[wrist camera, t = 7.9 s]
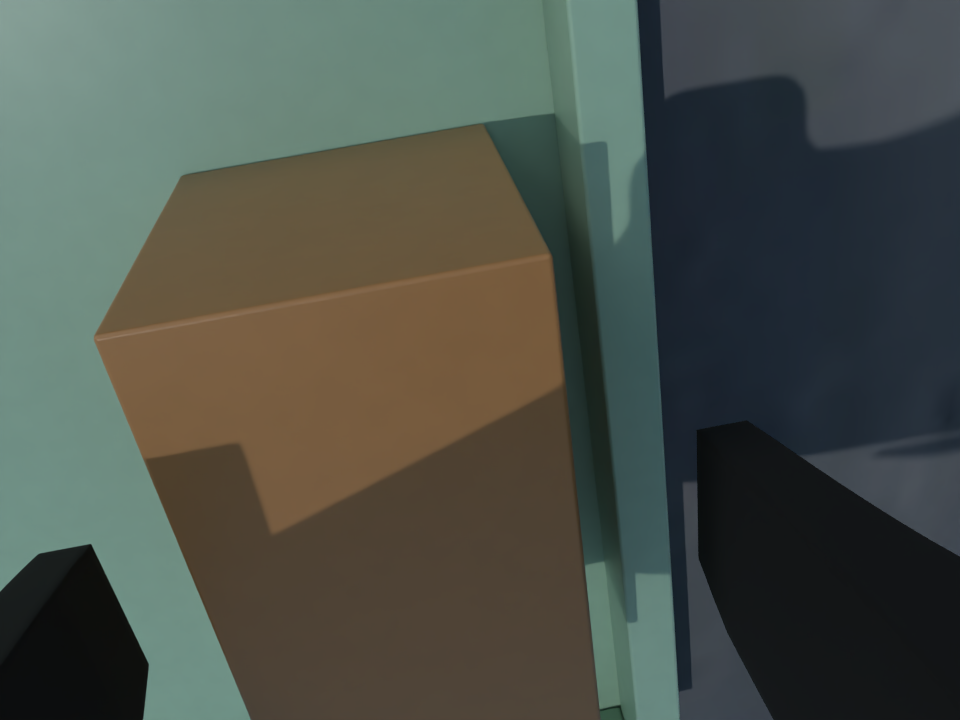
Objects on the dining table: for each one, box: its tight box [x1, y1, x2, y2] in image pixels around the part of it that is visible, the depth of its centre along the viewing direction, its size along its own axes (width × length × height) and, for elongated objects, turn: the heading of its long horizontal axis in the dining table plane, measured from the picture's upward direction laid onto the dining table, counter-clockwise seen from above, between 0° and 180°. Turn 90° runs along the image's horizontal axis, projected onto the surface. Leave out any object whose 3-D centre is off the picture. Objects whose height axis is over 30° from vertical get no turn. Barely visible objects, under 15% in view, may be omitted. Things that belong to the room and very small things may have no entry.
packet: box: [94, 124, 601, 720], centre depth 11 cm, size 4×8×4 cm, turn 8°
